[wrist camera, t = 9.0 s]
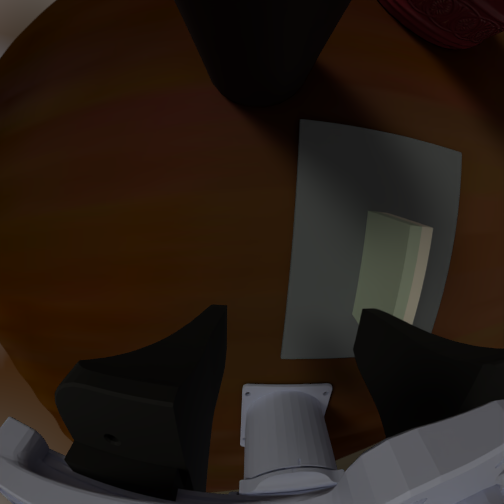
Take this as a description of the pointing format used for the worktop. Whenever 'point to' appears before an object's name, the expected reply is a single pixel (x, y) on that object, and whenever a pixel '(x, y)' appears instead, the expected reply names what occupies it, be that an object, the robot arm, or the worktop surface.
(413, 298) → the tile
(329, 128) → the mat
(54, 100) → the worktop surface
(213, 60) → the bottle
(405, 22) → the canister
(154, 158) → the worktop surface
